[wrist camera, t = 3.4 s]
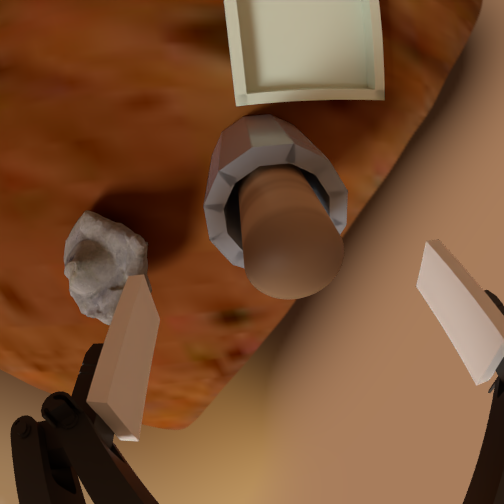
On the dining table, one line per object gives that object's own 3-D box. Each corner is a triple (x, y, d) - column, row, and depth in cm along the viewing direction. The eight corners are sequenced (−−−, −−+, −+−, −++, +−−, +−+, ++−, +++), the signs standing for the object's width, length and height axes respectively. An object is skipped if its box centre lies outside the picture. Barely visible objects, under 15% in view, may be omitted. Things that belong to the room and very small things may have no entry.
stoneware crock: (207, 121, 24) (194, 154, 15) (305, 111, 24) (348, 140, 15) (220, 208, 28) (217, 280, 19) (308, 199, 28) (343, 265, 19)
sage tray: (217, -58, 15) (216, -69, 13) (357, -56, 15) (368, -64, 13) (235, 102, 23) (236, 106, 21) (371, 96, 23) (384, 100, 21)
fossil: (101, 172, 25) (61, 214, 18) (187, 226, 28) (176, 281, 22) (61, 260, 29) (28, 313, 23) (133, 302, 33) (117, 361, 26)
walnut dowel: (232, 135, 24) (232, 180, 11) (284, 130, 24) (346, 170, 11) (240, 202, 26) (250, 310, 13) (290, 197, 26) (343, 297, 13)
